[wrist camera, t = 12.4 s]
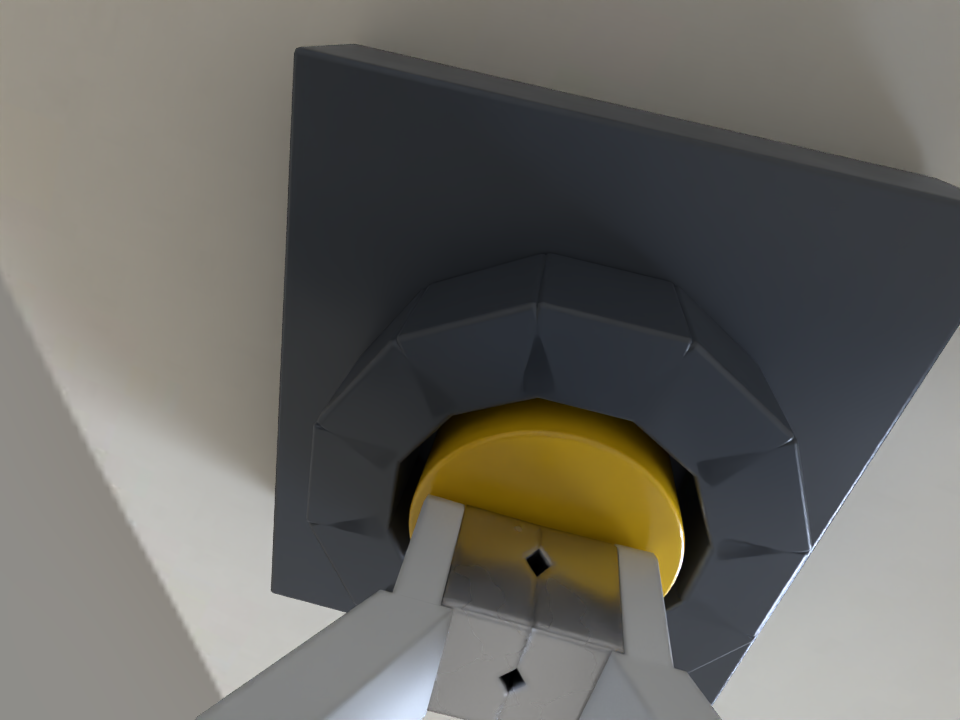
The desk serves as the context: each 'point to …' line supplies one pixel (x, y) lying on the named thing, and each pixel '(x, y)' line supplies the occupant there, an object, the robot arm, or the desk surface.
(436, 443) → the trigger button
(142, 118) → the desk surface
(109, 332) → the desk surface
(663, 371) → the button block
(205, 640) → the desk surface
